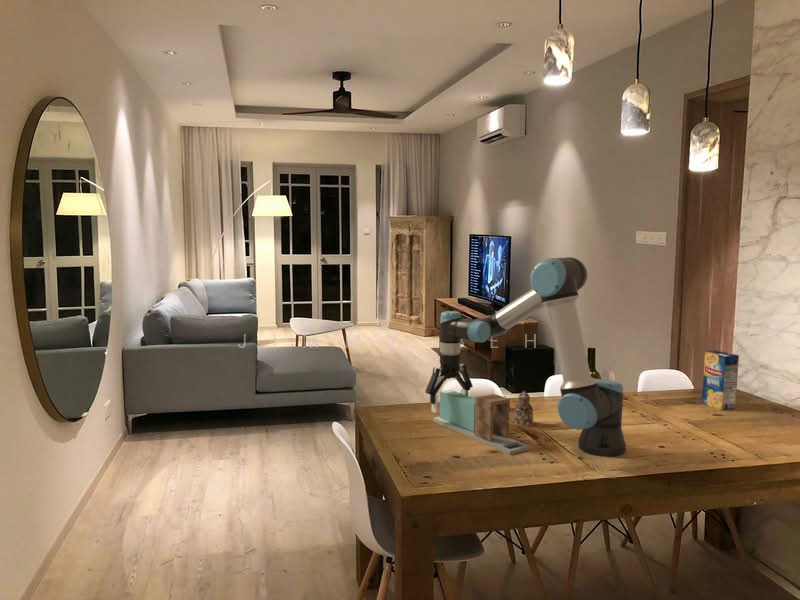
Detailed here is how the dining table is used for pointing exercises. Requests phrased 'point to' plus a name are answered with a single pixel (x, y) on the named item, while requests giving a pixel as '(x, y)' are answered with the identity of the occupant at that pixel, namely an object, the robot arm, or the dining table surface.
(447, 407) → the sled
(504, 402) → the tunnel
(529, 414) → the figurine
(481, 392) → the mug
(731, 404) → the blue cardboard box
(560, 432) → the dining table surface
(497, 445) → the track board
